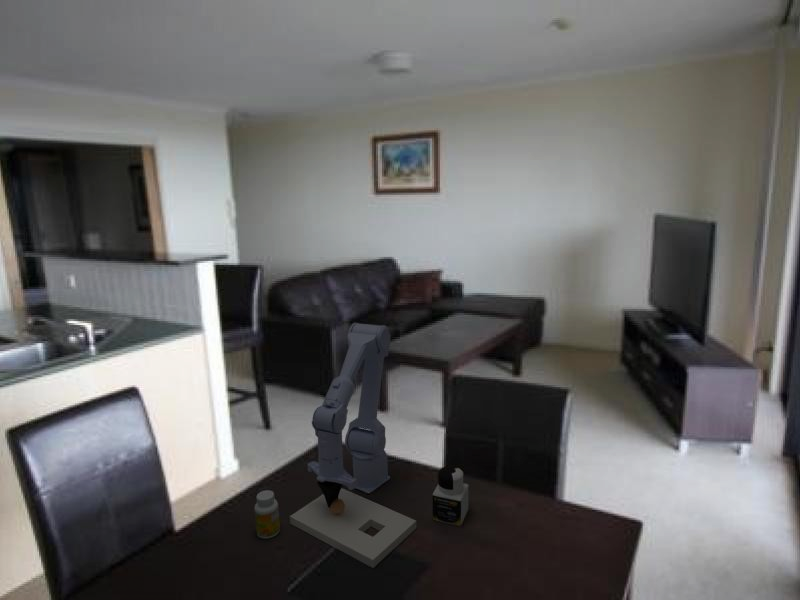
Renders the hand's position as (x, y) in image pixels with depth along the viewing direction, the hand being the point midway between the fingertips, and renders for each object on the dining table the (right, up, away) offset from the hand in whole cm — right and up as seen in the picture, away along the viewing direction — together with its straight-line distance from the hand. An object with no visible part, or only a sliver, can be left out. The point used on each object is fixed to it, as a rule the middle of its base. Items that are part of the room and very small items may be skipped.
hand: (332, 506), depth 126 cm
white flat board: (+5, -4, -2) cm, 7 cm away
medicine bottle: (+29, -3, +1) cm, 29 cm away
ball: (+1, 0, -1) cm, 1 cm away
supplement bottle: (-15, -5, -4) cm, 16 cm away
